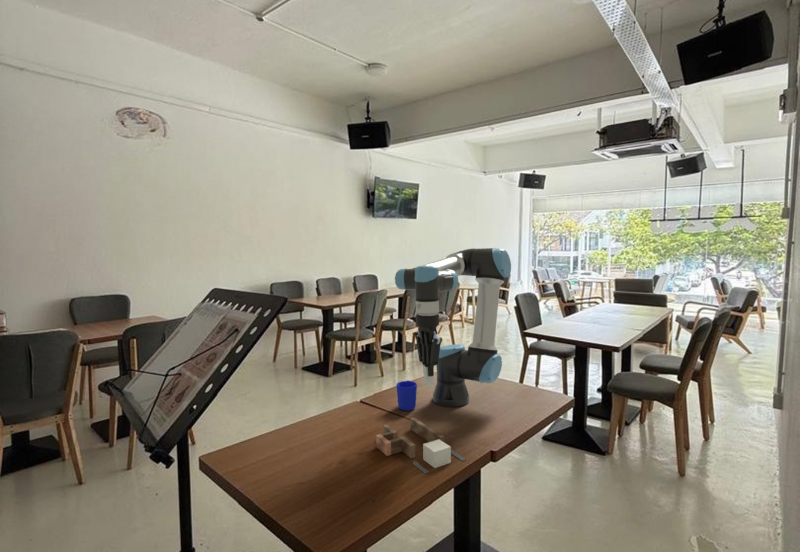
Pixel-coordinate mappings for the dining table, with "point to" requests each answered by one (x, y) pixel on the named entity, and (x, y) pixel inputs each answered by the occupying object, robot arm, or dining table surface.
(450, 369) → the robot arm
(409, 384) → the mug
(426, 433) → the wooden bar frame
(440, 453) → the block
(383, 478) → the dining table surface
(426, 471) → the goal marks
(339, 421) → the dining table surface
